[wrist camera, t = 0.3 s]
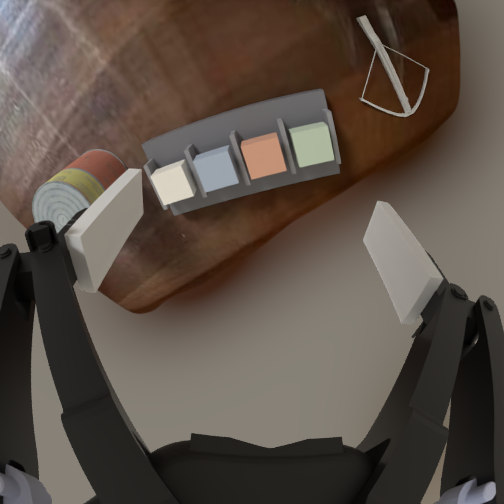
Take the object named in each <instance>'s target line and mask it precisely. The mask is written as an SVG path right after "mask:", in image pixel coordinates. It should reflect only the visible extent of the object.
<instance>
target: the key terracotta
mask: <svg viewBox="0 0 504 504" xmlns="http://www.w3.org/2000/svg"><path fill="white" fill-rule="evenodd" d="M241 149H242V152H243V155H244V158H245V161H246V164H247V167H248V170H249V173H250V176H251V180H252V179H256V178H260V177H263V176H267V175H271V174H275V173H279V172H283V171H287V170H286V166H285V162H284V158H283V155H282V151H281V147H280V144H279V140H278V137H277V133H276V132H275V133H271V134H267V135H263V136H259V137H255V138H252V139H248V140H244V141H242V142H241Z"/></svg>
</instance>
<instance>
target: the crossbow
mask: <svg viewBox="0 0 504 504" xmlns="http://www.w3.org/2000/svg"><path fill="white" fill-rule="evenodd" d="M356 19H357V21H358V22H359V24H360V26H361V27H362V29H363V30H364V32H365V34H366V35H367V37H368V38H369V40H370V41H371V44H372V45H373V46H374V48H375V53H376V52H377V54H378V56H379V58H380V60H381V62H382V64H383V66H384V68H385V70H386V72H387V74H388V76H389V78H390V80H391V82H392V84H393V87H394V89H395V91H396V93H397V95H398V98H399V100H400V102H401V104H402V107H403V109H404V112H405V113H395V112H392V111H388V110H385V109H383V108H381V107H378V106H376V105H374V104H372V103H370V102H368V101H366V100H364V99H362V98H363V95H362V98H359V99H360V101H364V102H366V103H368V104H370V105H372V106H373V107H375V108H378V109H380V110H382V111H385V112H387V113H390V114H393V115H396V116H403V117H407V116H409V115H411V114H413V113H414V112H415V110H416V109H417V108H418V106H419V104H420V101H421V99H422V97H423V93H424V90H425V87H426V83H427V77H428V73H429V68H426V67H425V68H426V69H425V76H424V82H423V86H422V89H421V93H420V96H419V98H418V101H417V103H416V105H415V106H414V108H412V110H411V108H410V105H409V103H408V98H407V97H406V95H405V93H404V90H403V88H402V85H401V83H400V81H399V78H398V76H397V74H396V72H395V70H394V67H393V65H392V63H391V61H390V59H389V56H388V54H387V52H386V51H385V49H384V47H383V46H384V45H382V43H381V41H380V39H379V38H378V37H377V35H376V34H375V32H374V30H373V28H372V26H371V25H370V23H369V21H368V19H367V17H366V15H364V16H361V17H358V18H356ZM385 47H386V46H385ZM387 48H388V47H387ZM389 49H390V48H389ZM391 50H392V49H391ZM393 51H394V50H393ZM395 52H396V51H395ZM375 53H374V56H375ZM397 53H398V52H397ZM399 54H400V53H399ZM401 55H402V54H401ZM403 56H404V55H403ZM405 57H406V56H405ZM407 58H408V57H407ZM409 59H410V58H409ZM373 60H374V57H373ZM373 60H372V63H373ZM410 60H412V59H410ZM412 61H413V60H412ZM414 62H415V61H414ZM416 63H417V62H416ZM418 64H419V63H418ZM419 65H421V64H419ZM421 66H422V65H421ZM371 67H372V64H371ZM423 67H424V66H423ZM370 71H371V68H370ZM370 71H369V74H370ZM368 77H369V75H368ZM367 81H368V78H367ZM367 81H366V84H367ZM365 88H366V85H365ZM365 88H364V91H365ZM364 91H363V94H364Z"/></svg>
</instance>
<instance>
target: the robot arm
mask: <svg viewBox="0 0 504 504" xmlns="http://www.w3.org/2000/svg"><path fill="white" fill-rule="evenodd" d="M143 214H144V213H143V196H142V169H128V170H127V171H126V172H125V173H123V174H122V175H121V176H120V177H119V178H118V179H117V180H116V181H115V182H114V183H113V184H112V185H111V186H110V187H109V188H108V189H107V190H106V191H105V192H104V193H103V194H102V195H101V196H100V197H99V198H98V199H97V200H96V201H95V202H94V203H93V204H92V205H91V206H90V207H89V208H84V209H82V210H80V211H79V212H77V213H76V214H75V215H74V216H73V217H72V218H71V220H69V221H68V222H67V224H66V225H65V226H64V227H63V228H62V229H61V230H60V231H59V232H58V233H57V232H56V228H55V224H54V223H53V222H52V221H49V220H44V221H40V222H37V223H35V224H33V225H32V226H30V227H29V228H28V229H27V230H26V232H25V237H26V240H27V243H28V246H29V249H30V252H27V253H19V251H18V248H17V246H16V245H15V244H6V245H3V246H2V247H0V504H52V499H51V496H50V495H49V493H48V492H47V491H46V489H45V487H44V486H43V484H42V483H41V482H40V481H39V471H38V459H37V450H36V442H35V434H34V425H33V414H32V400H31V350H32V349H31V347H32V333H33V321H34V312H35V304H36V306H37V312H38V318H39V323H40V329H41V334H42V338H43V343H44V347H45V351H46V355H47V359H48V363H49V366H50V370H51V373H52V377H53V380H54V383H55V386H56V390H57V393H58V396H59V399H60V401H61V404H62V408H63V413H62V414H61V420H62V423H63V427H64V429H65V431H66V434H67V437H68V439H69V441H70V443H71V446H72V448H73V450H74V453H75V455H76V457H77V459H78V461H79V463H80V465H81V467H82V469H83V471H84V473H85V475H86V476H87V479H88V480H89V482H90V484H91V486H92V488H93V489H94V491H95V493H96V496H94V497H93V498H91V499H90V500H89V501H87V502H86V503H84V504H421V503H420V502H421V500H422V498H423V496H424V494H425V492H426V490H427V488H428V486H429V484H430V482H431V479H432V477H433V475H434V473H435V470H436V468H437V465H438V463H439V460H440V458H441V455H442V453H443V450H444V447H445V444H446V442H447V447H446V454H445V460H444V465H443V472H442V478H441V489H440V499H439V501H437V502H435V503H434V504H504V331H503V327H502V324H501V319H500V315H499V312H498V309H497V307H496V305H495V304H494V301H493V300H492V299H491V298H488V297H486V296H484V295H482V296H480V297H479V299H478V300H477V302H476V303H475V302H472V301H470V300H468V296H467V294H466V293H465V291H464V290H463V289H461V288H460V287H459V286H457V285H455V284H452V283H450V284H449V282H448V281H447V279H446V278H445V276H444V275H443V273H442V272H441V270H440V269H439V268H438V266H437V264H436V263H435V261H434V260H433V258H432V257H431V256H430V255H429V254H428V253H427V252H426V251H425V250H424V249H423V247H422V246H421V245H420V243H419V242H418V240H417V239H416V238H415V236H414V235H413V234H412V232H411V231H410V230H409V228H408V227H407V226H406V224H405V223H404V222H403V221H402V219H401V218H400V217H399V215H398V214H397V213H396V212H395V210H394V209H393V208H392V207H391V205H390V204H389V203H386V202H381V201H377V203H376V207H375V209H374V212H373V215H372V217H371V220H370V223H369V226H368V228H367V231H366V233H365V236H364V239H363V242H364V244H365V246H366V248H367V250H368V252H369V254H370V256H371V258H372V260H373V262H374V264H375V266H376V268H377V270H378V272H379V274H380V276H381V279H382V281H383V283H384V285H385V287H386V289H387V292H388V294H389V296H390V298H391V301H392V303H393V305H394V308H395V310H396V312H397V315H398V317H399V319H400V322H401V324H414V323H415V322H416V320H417V319H418V317H419V316H420V315H421V316H422V318H423V322H422V323H421V325H420V326H419V328H418V329H417V330H416V332H415V333H414V334H413V336H412V338H414V337H415V336H416V337H415V339H414V342H413V344H412V347H411V349H410V351H409V354H408V356H407V358H406V361H405V363H404V365H403V367H402V370H401V372H400V374H399V376H398V378H397V380H396V382H395V384H394V387H393V389H392V391H391V393H390V394H389V396H388V398H387V400H386V402H385V404H384V406H383V408H382V410H381V412H380V413H379V415H378V417H377V419H376V420H375V422H374V424H373V426H372V427H371V429H370V431H369V432H368V434H367V436H366V437H365V438H364V440H363V441H362V442H361V443H360V444H359V445H358V446H357V447H356V448H353V447H350V446H346V445H343V443H342V437H333V438H319V439H306V440H303V441H299V442H295V443H292V444H288V445H284V446H280V447H275V448H265V447H261V446H257V445H254V444H250V443H247V442H243V441H240V440H236V439H233V438H229V437H219V436H209V435H201V434H194V433H192V434H191V440H189V441H181V442H175V443H172V444H169V445H166V446H163V447H161V448H159V449H157V450H155V451H154V452H152V453H151V452H150V451H149V449H148V448H147V446H146V445H145V443H144V442H143V440H142V439H141V437H140V435H139V434H138V432H137V431H136V429H135V428H134V426H133V424H132V423H131V421H130V419H129V417H128V415H127V414H126V412H125V410H124V408H123V406H122V404H121V403H120V401H119V399H118V397H117V395H116V393H115V391H114V389H113V387H112V385H111V383H110V381H109V379H108V376H107V374H106V372H105V370H104V368H103V366H102V363H101V361H100V359H99V356H98V354H97V352H96V349H95V347H94V344H93V342H92V339H91V337H90V334H89V332H88V329H87V326H86V324H85V321H84V318H83V315H82V312H81V309H80V306H79V303H78V300H77V297H76V294H75V291H74V288H73V285H74V283H75V282H76V280H77V281H78V284H79V287H80V290H83V291H87V292H92V293H96V291H97V289H98V288H99V286H100V284H101V282H102V280H103V279H104V277H105V275H106V273H107V272H108V270H109V268H110V266H111V265H112V263H113V261H114V260H115V258H116V256H117V255H118V253H119V251H120V250H121V248H122V246H123V245H124V243H125V242H126V240H127V238H128V237H129V235H130V234H131V232H132V230H133V229H134V227H135V226H136V224H137V223H138V221H139V220H140V218H141V217H142V215H143ZM477 339H478V341H477V343H476V344H475V341H476V340H477ZM450 399H451V409H450V422H449V431H448V428H446V427H444V426H443V421H444V418H445V415H446V412H447V409H448V406H449V402H450ZM447 439H448V440H447Z"/></svg>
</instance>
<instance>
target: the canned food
mask: <svg viewBox="0 0 504 504" xmlns="http://www.w3.org/2000/svg"><path fill="white" fill-rule="evenodd" d="M126 171H127V168H126V166H125V165H124V163H123V162H122V161H121V160H120V159H119V158H118V157H117V156H116V155H114V154H113V153H111V152H109V151H106V150H102V149H94V150H90V151H88V152H86V153H84V154H83V155H81V156H80V157H79V158H78V159H77V160H75V161H74V162H72V163H71V164H70V165H68V166H67V167H66V168H64V169H63V170H62V171H60V172H59V173H58V174H56V175H55V176H54V177H53V178H51V179H50V180H49V181H48V182H46V183H45V184H43V185H42V186H41V187H39V189H38V190H37V191H36V193H35V195H34V198H33V204H32V210H33V217H34V220H35V223H37V222H40V221H44V220H49V221H52V222H53V223H54V224H55V228H56V232H57V233H58V232H59V231H60V230H61V229H62V228H63V227H64V226H65V225H66V224H67V222H68V221H69V220H71V218H72V217H73V216H74V215H75V214H76V213H77V212H79V211H80V210H82V209H84V208H89V207H90V206H91V205H92V204H93V203H94V202H95V201H96V200H97V199H98V198H99V197H100V196H101V195H102V194H103V193H104V192H105V191H106V190H107V189H108V188H109V187H110V186H111V185H112V184H113V183H114V182H115V181H116V180H117V179H118V178H119V177H120V176H121V175H122V174H123V173H125V172H126Z"/></svg>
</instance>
